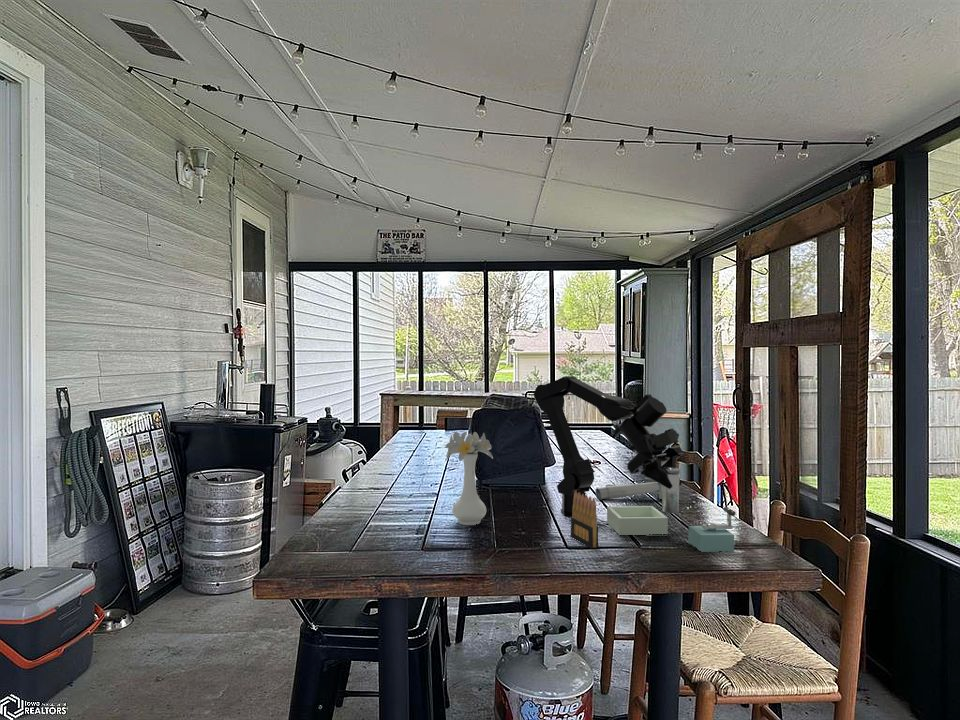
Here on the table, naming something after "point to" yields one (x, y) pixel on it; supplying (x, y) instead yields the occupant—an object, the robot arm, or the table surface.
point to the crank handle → (721, 526)
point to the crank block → (711, 539)
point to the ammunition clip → (584, 520)
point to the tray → (637, 520)
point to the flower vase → (468, 476)
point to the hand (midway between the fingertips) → (675, 486)
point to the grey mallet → (629, 490)
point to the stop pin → (671, 491)
